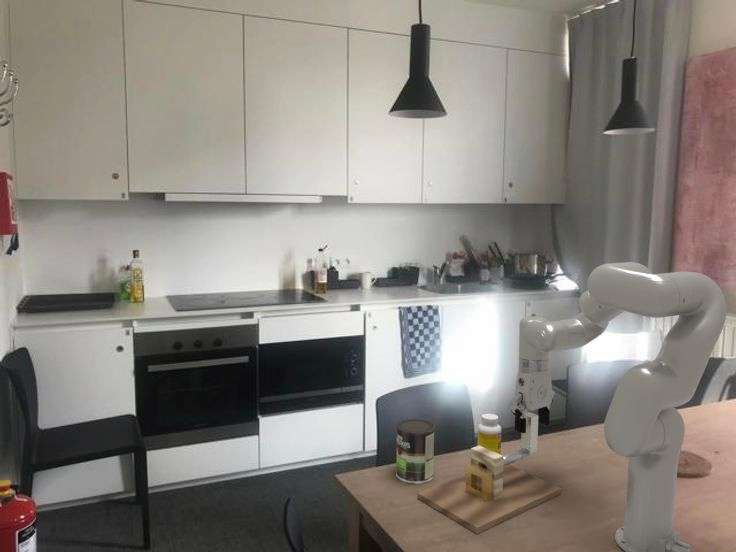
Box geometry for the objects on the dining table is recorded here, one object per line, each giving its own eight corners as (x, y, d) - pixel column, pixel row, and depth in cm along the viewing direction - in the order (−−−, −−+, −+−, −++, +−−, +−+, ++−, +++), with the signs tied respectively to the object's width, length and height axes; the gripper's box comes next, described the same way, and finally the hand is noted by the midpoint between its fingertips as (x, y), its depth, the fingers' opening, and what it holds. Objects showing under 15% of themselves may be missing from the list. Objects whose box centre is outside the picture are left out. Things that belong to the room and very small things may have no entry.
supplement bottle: (500, 465, 166) (502, 421, 165) (476, 463, 168) (478, 419, 166) (500, 455, 173) (501, 413, 171) (477, 453, 174) (478, 411, 173)
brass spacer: (492, 499, 144) (493, 472, 143) (486, 502, 142) (487, 474, 142) (471, 488, 149) (471, 462, 148) (465, 490, 148) (466, 464, 147)
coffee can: (408, 487, 153) (409, 435, 151) (389, 471, 162) (389, 422, 160) (441, 479, 158) (442, 428, 156) (420, 464, 167) (421, 416, 165)
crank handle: (527, 452, 159) (529, 412, 157) (536, 455, 156) (538, 415, 155) (482, 469, 148) (483, 427, 147) (491, 474, 146) (492, 430, 144)
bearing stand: (561, 493, 150) (563, 448, 148) (477, 534, 131) (478, 482, 130) (499, 466, 166) (501, 425, 164) (417, 498, 147) (418, 452, 146)
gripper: (523, 372, 146) (522, 439, 147) (565, 361, 156) (564, 424, 158) (500, 366, 152) (499, 430, 153) (542, 356, 162) (540, 417, 164)
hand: (532, 427), depth 156 cm, fingers open, 9 cm apart
